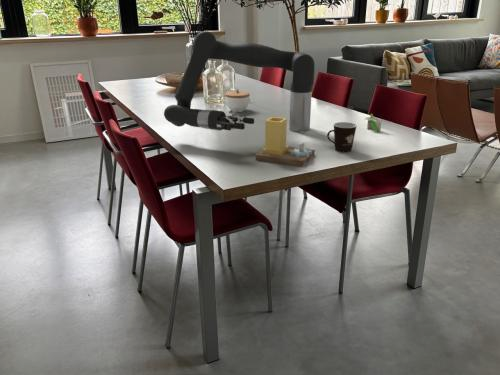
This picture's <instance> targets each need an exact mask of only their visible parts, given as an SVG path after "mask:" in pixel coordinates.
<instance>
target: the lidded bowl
mask: <svg viewBox="0 0 500 375" xmlns="http://www.w3.org/2000/svg"><path fill="white" fill-rule="evenodd" d="M224 95H225V103H226V106H227V108H228V109H229V110H230V112H234V113H241V112H245V110H246V109H247V108H248V107H249V104H250V95H251V94H250V92H249V91H245V90H244V91H243V90H239V89H238V88H237V89H235V90H233V91H232V90H230V91H227V92H225V94H224Z"/></svg>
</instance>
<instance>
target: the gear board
mask: <svg viewBox="0 0 500 375" xmlns="http://www.w3.org/2000/svg"><path fill="white" fill-rule="evenodd" d="M293 149H299V147H294V146H289V149H288V150H287V151H286V152H285V153H283V154H282V155H276V154H270V153H263V152H262V150H260V151H259V152H257V153H256V154H255V160H257V161H261V162H262V161H263V162H269V163H275V164H276V163H277V164H282V165H283V164H284V165H289V166H296V167H304V166H305V165H306V164H307V163H308V162H309V161H310V160H311V159H312V158H313V157H314V156H315V152H316V151H315V150H316V149H310V148H306V149H307V150H309V151H312V154H310V155H309V157H299V158H298V157H296V156H294V155H291V151H293Z"/></svg>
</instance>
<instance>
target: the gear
mask: <svg viewBox="0 0 500 375" xmlns="http://www.w3.org/2000/svg"><path fill="white" fill-rule="evenodd" d="M298 148H299V149H293V151H291V155H294V156H296V157H298V158H299V157H309V155H310V154H312V151H309V150H307V149H308V148H305V143H304V142H299V143H298Z"/></svg>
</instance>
